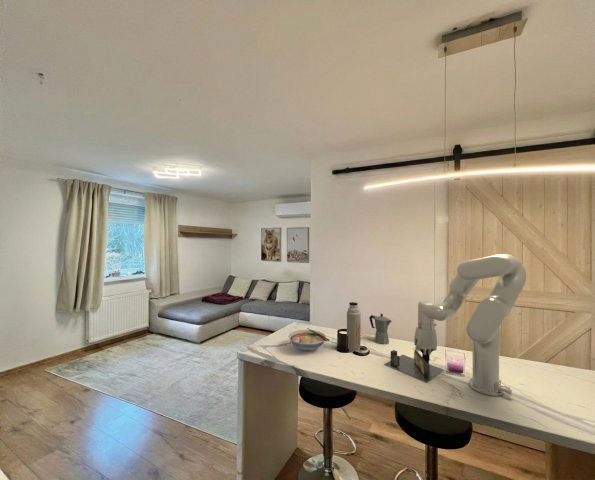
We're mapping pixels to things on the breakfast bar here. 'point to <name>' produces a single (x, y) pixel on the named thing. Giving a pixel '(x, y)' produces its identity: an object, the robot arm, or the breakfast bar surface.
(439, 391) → the breakfast bar surface
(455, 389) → the breakfast bar surface
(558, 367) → the breakfast bar surface
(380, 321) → the coffeepot
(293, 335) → the ramen bowl
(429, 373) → the gate frame
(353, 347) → the thermos bottle
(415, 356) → the gate
